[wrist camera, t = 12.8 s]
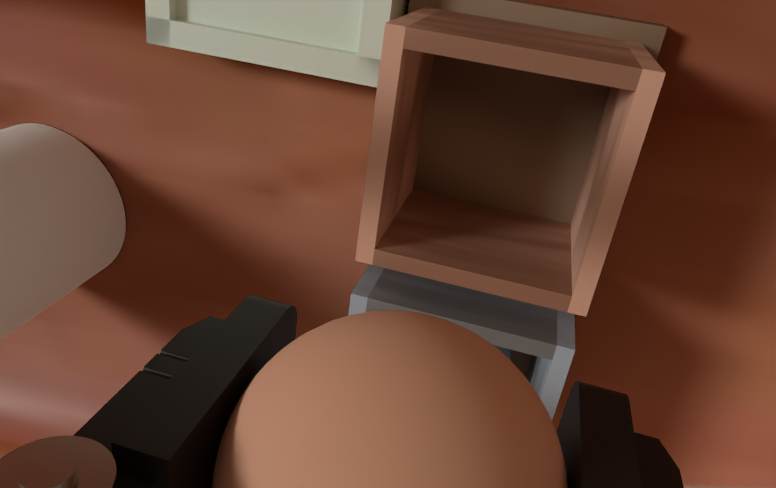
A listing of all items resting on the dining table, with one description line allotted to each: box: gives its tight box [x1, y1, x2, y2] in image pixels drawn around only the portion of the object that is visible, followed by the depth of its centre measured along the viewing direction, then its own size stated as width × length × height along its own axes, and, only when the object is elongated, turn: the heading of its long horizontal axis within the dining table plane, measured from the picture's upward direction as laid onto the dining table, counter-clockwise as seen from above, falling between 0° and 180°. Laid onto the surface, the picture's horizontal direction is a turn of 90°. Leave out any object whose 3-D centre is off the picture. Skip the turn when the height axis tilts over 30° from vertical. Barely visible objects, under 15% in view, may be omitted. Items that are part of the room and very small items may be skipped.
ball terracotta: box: [212, 310, 568, 488], centre depth 8 cm, size 4×4×4 cm
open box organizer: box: [348, 0, 667, 420], centre depth 24 cm, size 18×9×7 cm, turn 172°
